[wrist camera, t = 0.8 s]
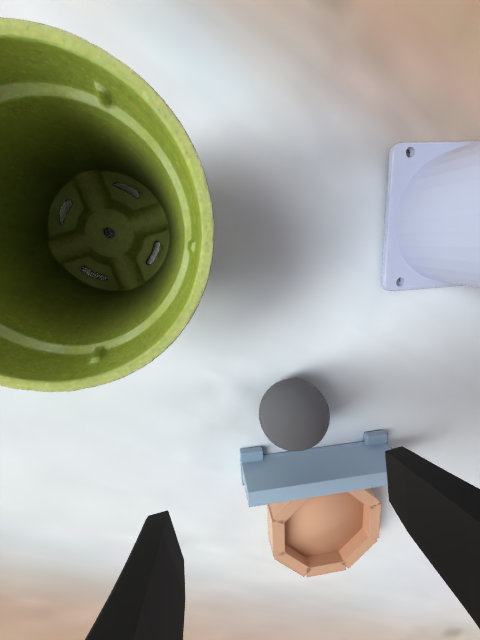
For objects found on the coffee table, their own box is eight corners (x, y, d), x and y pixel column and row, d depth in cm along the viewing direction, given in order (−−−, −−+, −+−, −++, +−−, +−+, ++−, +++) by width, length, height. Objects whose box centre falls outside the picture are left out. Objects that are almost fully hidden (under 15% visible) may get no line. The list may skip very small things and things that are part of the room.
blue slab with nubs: (383, 429, 22) (412, 458, 19) (381, 459, 23) (408, 491, 20) (240, 448, 21) (247, 482, 18) (241, 479, 22) (249, 517, 19)
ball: (314, 365, 20) (343, 394, 16) (314, 421, 21) (340, 462, 17) (252, 371, 20) (266, 403, 16) (254, 429, 21) (268, 472, 17)
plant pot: (231, 187, 17) (269, 140, 9) (166, 345, 19) (145, 431, 10) (48, 95, 15) (-131, -83, 7) (-9, 281, 17) (-211, 325, 8)
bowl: (372, 461, 23) (383, 474, 21) (366, 546, 25) (376, 564, 23) (266, 476, 22) (271, 492, 20) (269, 563, 24) (274, 583, 22)
